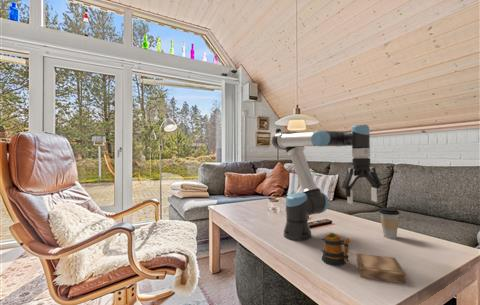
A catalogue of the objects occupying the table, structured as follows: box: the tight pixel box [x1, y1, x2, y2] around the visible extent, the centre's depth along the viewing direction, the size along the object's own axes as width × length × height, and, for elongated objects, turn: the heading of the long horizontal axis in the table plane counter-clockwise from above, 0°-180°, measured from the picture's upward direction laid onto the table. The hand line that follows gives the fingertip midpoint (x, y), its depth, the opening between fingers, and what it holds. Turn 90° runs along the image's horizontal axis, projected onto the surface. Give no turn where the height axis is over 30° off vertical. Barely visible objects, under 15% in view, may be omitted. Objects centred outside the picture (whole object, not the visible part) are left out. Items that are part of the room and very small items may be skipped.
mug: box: [320, 232, 351, 267], centre depth 98 cm, size 13×10×12 cm
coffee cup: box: [378, 206, 400, 240], centre depth 125 cm, size 9×9×15 cm
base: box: [356, 253, 407, 284], centre depth 89 cm, size 14×14×3 cm
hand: (362, 202), depth 109 cm, fingers open, 13 cm apart
